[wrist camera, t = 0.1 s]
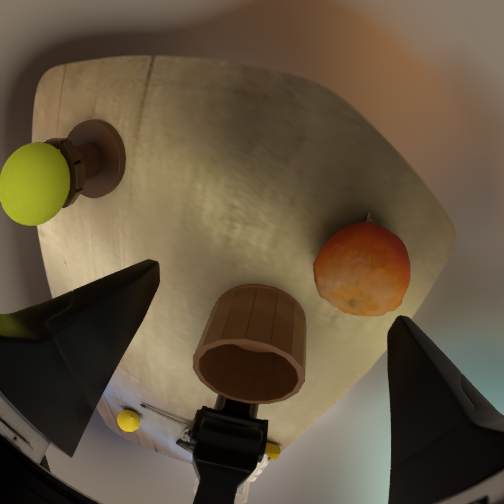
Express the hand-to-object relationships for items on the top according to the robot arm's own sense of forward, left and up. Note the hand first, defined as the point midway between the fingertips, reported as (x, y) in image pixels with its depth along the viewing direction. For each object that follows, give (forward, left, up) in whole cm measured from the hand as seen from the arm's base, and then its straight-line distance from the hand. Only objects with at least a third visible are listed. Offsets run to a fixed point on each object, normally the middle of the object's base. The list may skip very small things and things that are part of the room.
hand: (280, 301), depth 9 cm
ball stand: (0, +19, -15) cm, 24 cm away
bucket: (-15, 0, -15) cm, 21 cm away
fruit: (-4, -7, -15) cm, 17 cm away
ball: (0, +19, -6) cm, 20 cm away
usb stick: (-66, +8, -15) cm, 68 cm away
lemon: (-55, +23, -15) cm, 61 cm away
